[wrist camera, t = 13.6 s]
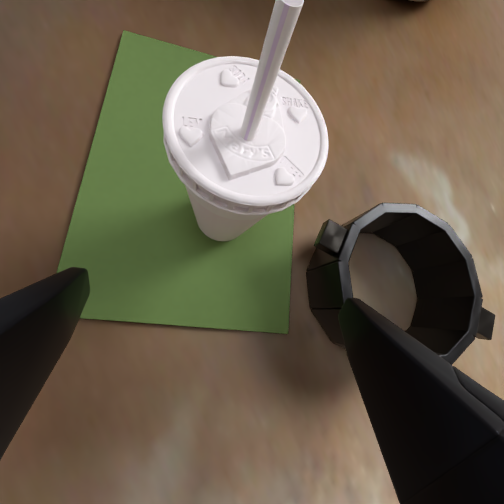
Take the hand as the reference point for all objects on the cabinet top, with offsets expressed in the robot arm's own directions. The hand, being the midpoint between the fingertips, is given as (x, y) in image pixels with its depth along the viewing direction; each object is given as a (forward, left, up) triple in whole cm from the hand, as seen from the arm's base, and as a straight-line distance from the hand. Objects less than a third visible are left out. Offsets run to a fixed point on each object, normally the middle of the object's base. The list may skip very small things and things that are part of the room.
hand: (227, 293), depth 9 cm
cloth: (+9, -1, -9) cm, 13 cm away
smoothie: (+6, -2, -9) cm, 11 cm away
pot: (-2, -12, -9) cm, 15 cm away
